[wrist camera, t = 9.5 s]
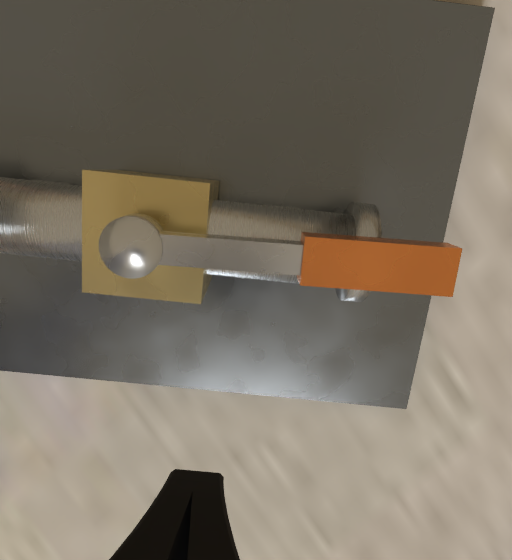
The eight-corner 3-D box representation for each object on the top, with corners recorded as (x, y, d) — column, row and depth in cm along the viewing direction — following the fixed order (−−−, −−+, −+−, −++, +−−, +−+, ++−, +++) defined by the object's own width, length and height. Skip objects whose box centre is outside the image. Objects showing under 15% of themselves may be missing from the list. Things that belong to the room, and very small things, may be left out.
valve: (-3, 360, 22) (-87, 422, 16) (-25, -45, 17) (-152, -142, 12) (399, 398, 22) (445, 470, 17) (481, 16, 18) (579, -50, 12)
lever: (110, 269, 15) (98, 276, 14) (109, 210, 14) (97, 214, 13) (437, 293, 15) (451, 302, 14) (448, 236, 14) (463, 242, 13)
